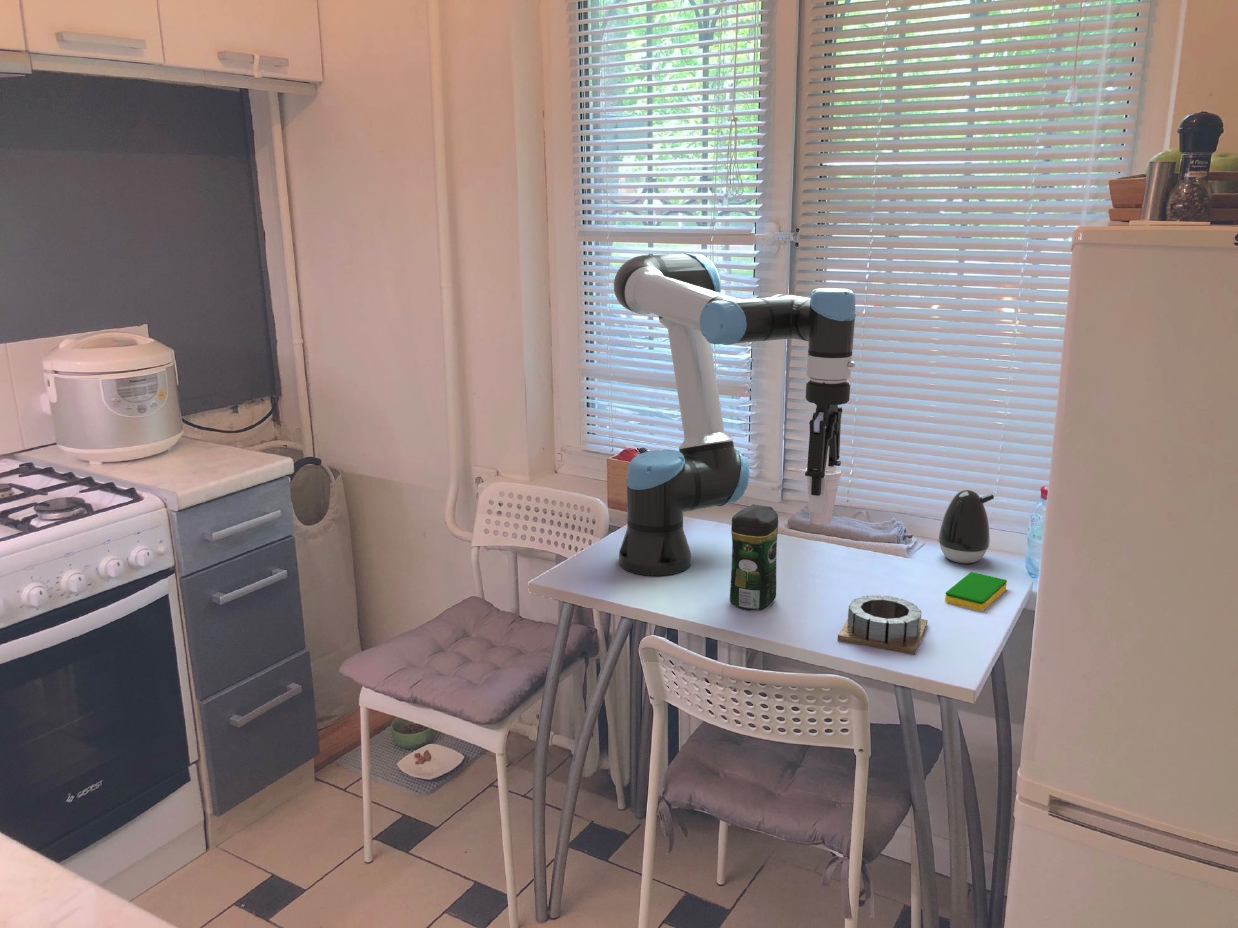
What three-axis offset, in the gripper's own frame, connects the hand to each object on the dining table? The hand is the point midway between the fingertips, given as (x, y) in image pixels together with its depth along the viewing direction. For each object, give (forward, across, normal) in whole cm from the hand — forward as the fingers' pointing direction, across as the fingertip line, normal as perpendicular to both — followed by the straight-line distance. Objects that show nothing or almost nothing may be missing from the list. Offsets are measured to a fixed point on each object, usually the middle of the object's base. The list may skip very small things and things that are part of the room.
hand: (821, 505), depth 173 cm
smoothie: (+3, 0, 0) cm, 3 cm away
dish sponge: (+21, +20, -26) cm, 39 cm away
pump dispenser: (+21, +40, -21) cm, 50 cm away
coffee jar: (+21, -1, +12) cm, 24 cm away
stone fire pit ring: (+20, -4, -13) cm, 25 cm away
